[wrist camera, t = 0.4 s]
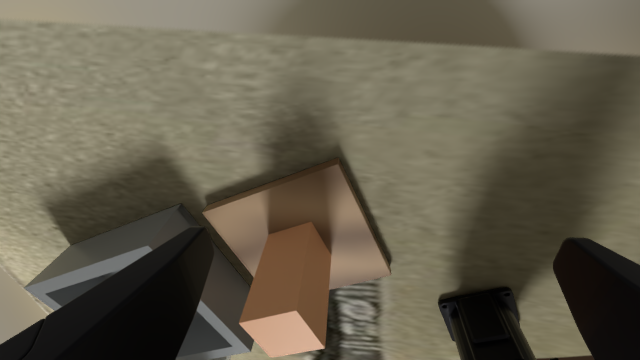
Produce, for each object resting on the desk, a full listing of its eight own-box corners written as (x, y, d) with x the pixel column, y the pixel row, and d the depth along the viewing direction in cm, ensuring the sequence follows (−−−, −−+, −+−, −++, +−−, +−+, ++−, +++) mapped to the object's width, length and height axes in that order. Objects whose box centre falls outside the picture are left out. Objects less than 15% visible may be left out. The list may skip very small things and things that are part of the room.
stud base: (390, 266, 28) (398, 323, 23) (275, 294, 31) (262, 348, 26) (338, 157, 22) (335, 202, 17) (206, 205, 26) (174, 254, 21)
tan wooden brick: (331, 255, 26) (324, 348, 19) (290, 266, 27) (270, 357, 20) (311, 221, 24) (296, 310, 17) (268, 234, 25) (238, 323, 19)
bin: (263, 303, 32) (250, 351, 28) (163, 327, 36) (138, 372, 32) (181, 203, 26) (147, 245, 21) (70, 245, 30) (23, 287, 25)
